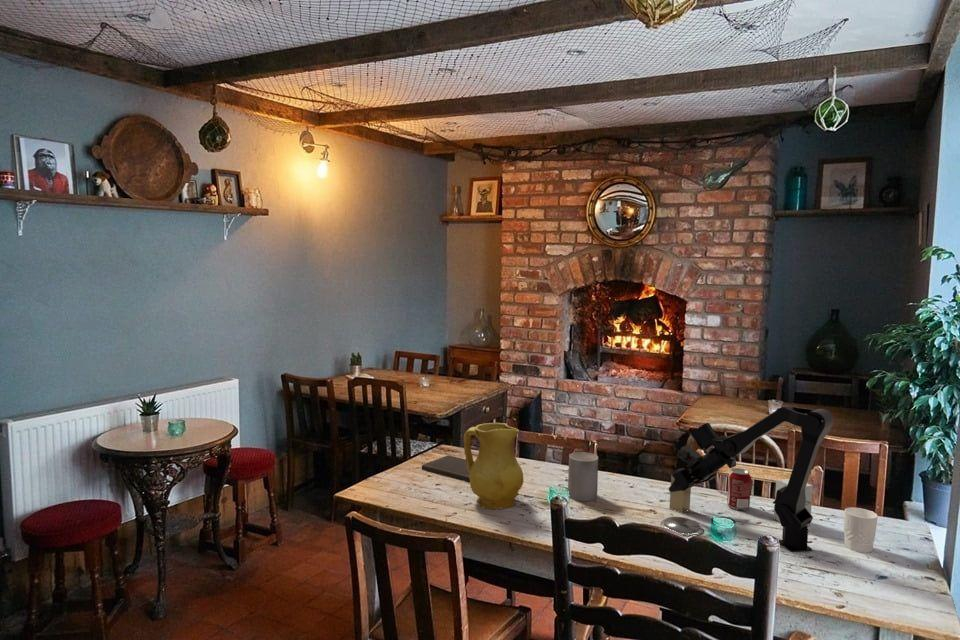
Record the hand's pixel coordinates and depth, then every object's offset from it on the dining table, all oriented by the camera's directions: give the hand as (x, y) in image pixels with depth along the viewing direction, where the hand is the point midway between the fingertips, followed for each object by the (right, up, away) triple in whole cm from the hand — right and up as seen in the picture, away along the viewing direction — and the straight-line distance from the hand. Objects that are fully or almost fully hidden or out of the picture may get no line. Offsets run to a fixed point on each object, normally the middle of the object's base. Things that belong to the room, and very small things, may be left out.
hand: (676, 487), depth 202 cm
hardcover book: (-70, -3, +32) cm, 77 cm away
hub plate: (-3, -8, -15) cm, 17 cm away
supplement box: (+32, -9, -9) cm, 35 cm away
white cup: (+43, -10, -25) cm, 51 cm away
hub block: (+1, -7, 0) cm, 7 cm away
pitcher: (-58, -5, +3) cm, 58 cm away
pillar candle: (-29, -5, +9) cm, 30 cm away
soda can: (+21, -7, +3) cm, 22 cm away
